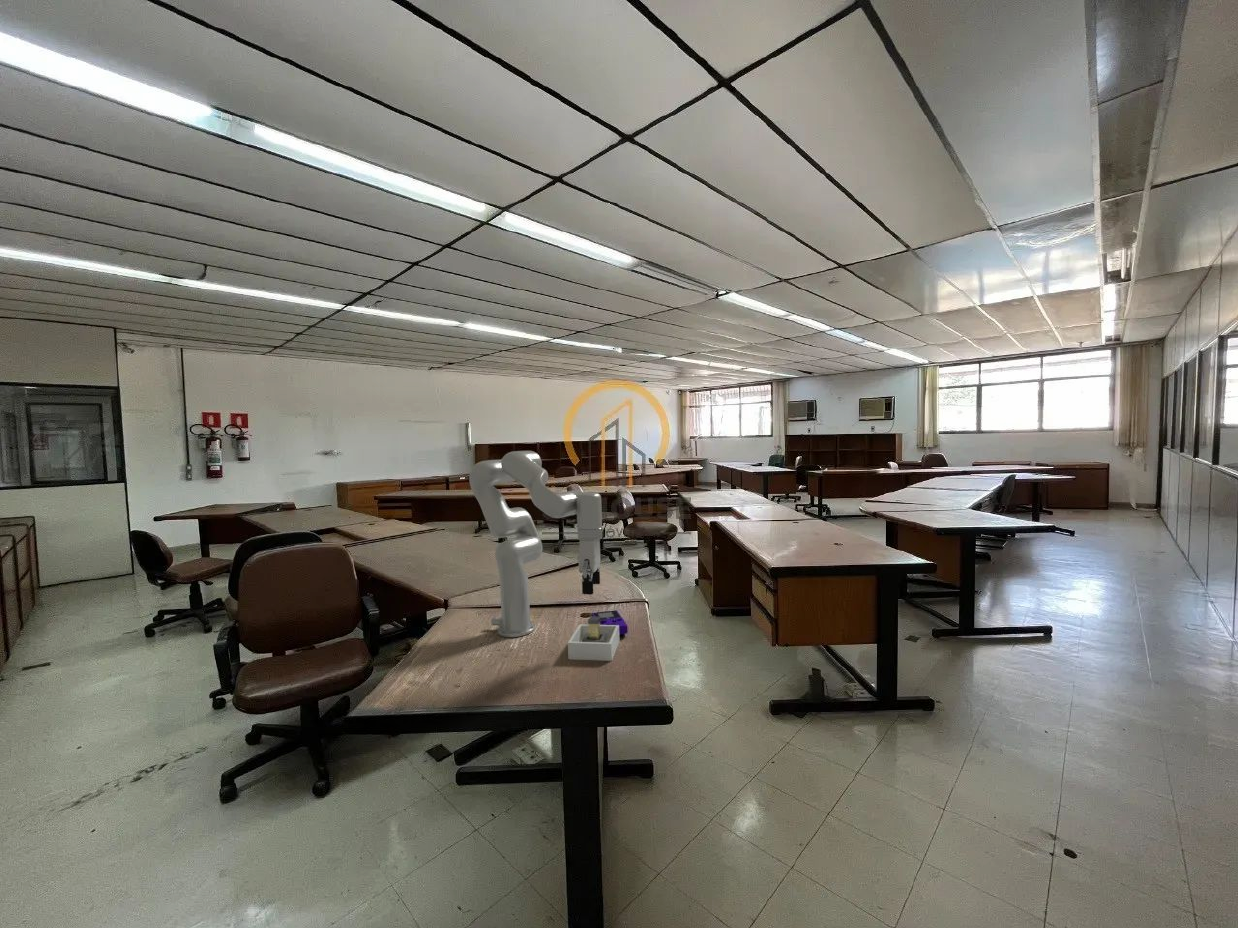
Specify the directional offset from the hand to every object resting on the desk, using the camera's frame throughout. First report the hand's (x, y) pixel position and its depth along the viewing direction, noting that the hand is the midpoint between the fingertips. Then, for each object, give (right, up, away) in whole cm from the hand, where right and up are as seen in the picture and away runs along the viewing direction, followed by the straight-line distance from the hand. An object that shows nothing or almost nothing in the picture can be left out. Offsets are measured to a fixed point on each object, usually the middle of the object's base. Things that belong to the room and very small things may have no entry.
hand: (591, 588), depth 144 cm
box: (+1, -19, +1) cm, 19 cm away
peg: (+1, -18, +1) cm, 18 cm away
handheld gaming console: (+5, -18, +15) cm, 24 cm away
